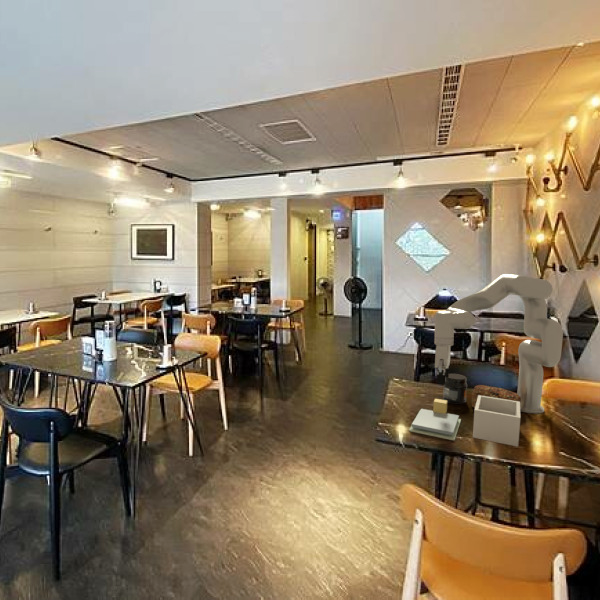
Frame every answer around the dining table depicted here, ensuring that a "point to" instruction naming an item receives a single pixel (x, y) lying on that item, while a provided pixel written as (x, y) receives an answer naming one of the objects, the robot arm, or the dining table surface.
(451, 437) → the mat
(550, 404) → the dining table surface
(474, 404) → the bread
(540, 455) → the dining table surface
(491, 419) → the open box
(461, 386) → the supplement container
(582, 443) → the dining table surface
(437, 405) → the lid
